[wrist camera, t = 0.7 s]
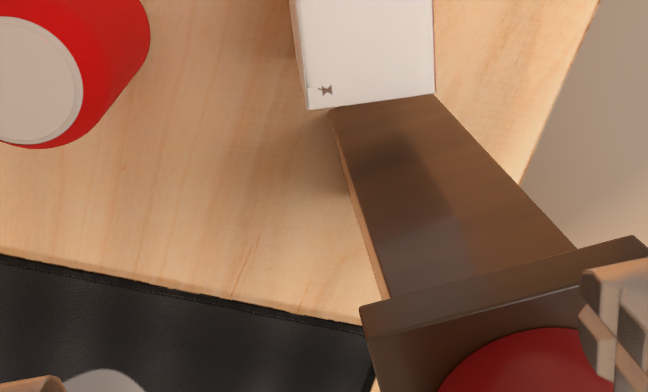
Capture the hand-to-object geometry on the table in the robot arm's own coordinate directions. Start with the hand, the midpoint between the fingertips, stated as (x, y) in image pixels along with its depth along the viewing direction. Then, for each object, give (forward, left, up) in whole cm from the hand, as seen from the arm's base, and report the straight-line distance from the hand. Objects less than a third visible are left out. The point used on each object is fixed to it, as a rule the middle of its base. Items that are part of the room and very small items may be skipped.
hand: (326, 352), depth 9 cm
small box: (-2, +4, -27) cm, 28 cm away
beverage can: (-3, -10, -27) cm, 29 cm away
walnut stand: (+8, +5, -27) cm, 29 cm away
